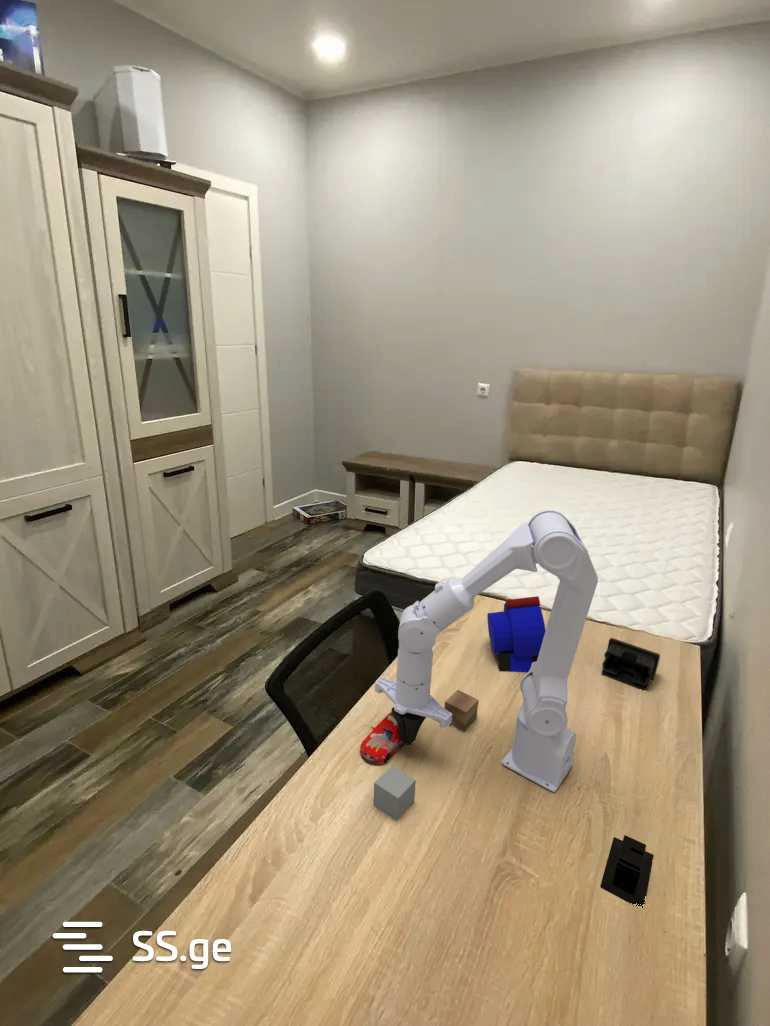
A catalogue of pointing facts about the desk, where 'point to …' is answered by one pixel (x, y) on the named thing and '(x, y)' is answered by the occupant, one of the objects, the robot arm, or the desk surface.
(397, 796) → the slate block
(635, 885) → the black open box
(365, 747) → the race car
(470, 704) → the walnut block
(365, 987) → the desk surface
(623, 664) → the black slotted holder
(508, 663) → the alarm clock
